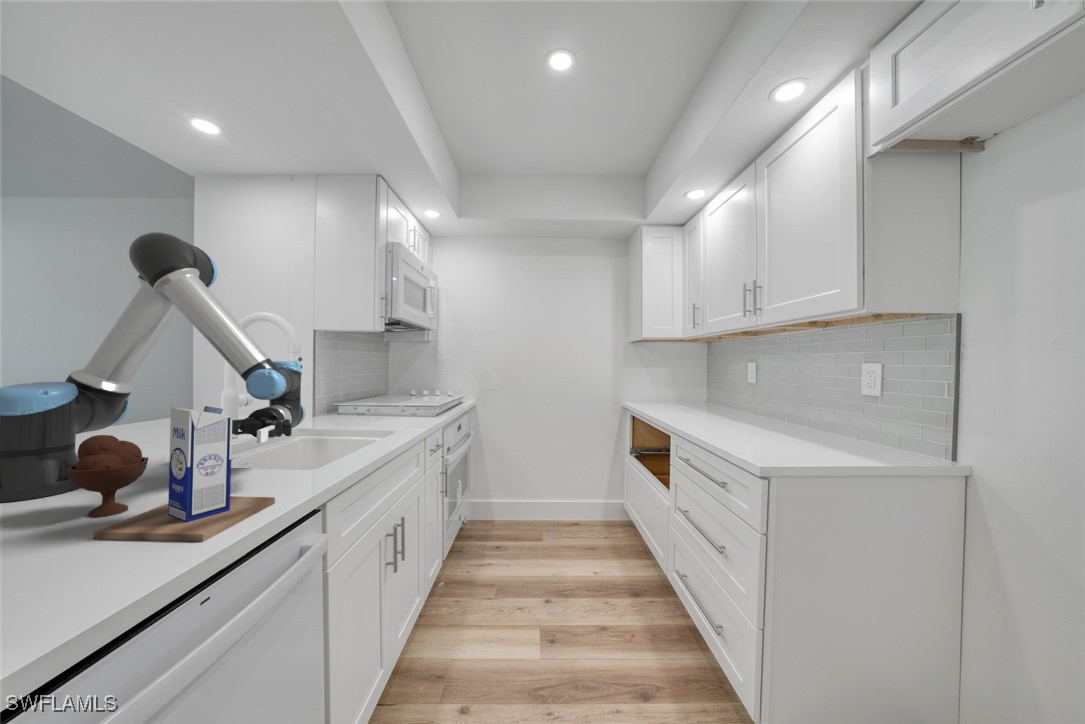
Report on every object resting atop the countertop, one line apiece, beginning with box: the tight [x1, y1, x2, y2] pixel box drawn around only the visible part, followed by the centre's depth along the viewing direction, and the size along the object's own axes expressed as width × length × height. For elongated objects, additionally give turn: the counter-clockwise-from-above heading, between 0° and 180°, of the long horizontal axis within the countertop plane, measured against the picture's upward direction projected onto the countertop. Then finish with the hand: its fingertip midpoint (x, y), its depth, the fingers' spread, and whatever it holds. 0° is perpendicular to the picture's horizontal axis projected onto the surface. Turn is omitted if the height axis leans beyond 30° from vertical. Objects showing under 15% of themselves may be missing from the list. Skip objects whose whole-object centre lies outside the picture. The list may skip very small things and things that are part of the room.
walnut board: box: [92, 495, 276, 543], centre depth 75 cm, size 18×18×1 cm
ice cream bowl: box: [66, 434, 149, 519], centre depth 77 cm, size 11×11×15 cm
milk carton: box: [167, 405, 233, 522], centre depth 75 cm, size 7×7×20 cm
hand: (222, 437), depth 83 cm, fingers open, 13 cm apart
